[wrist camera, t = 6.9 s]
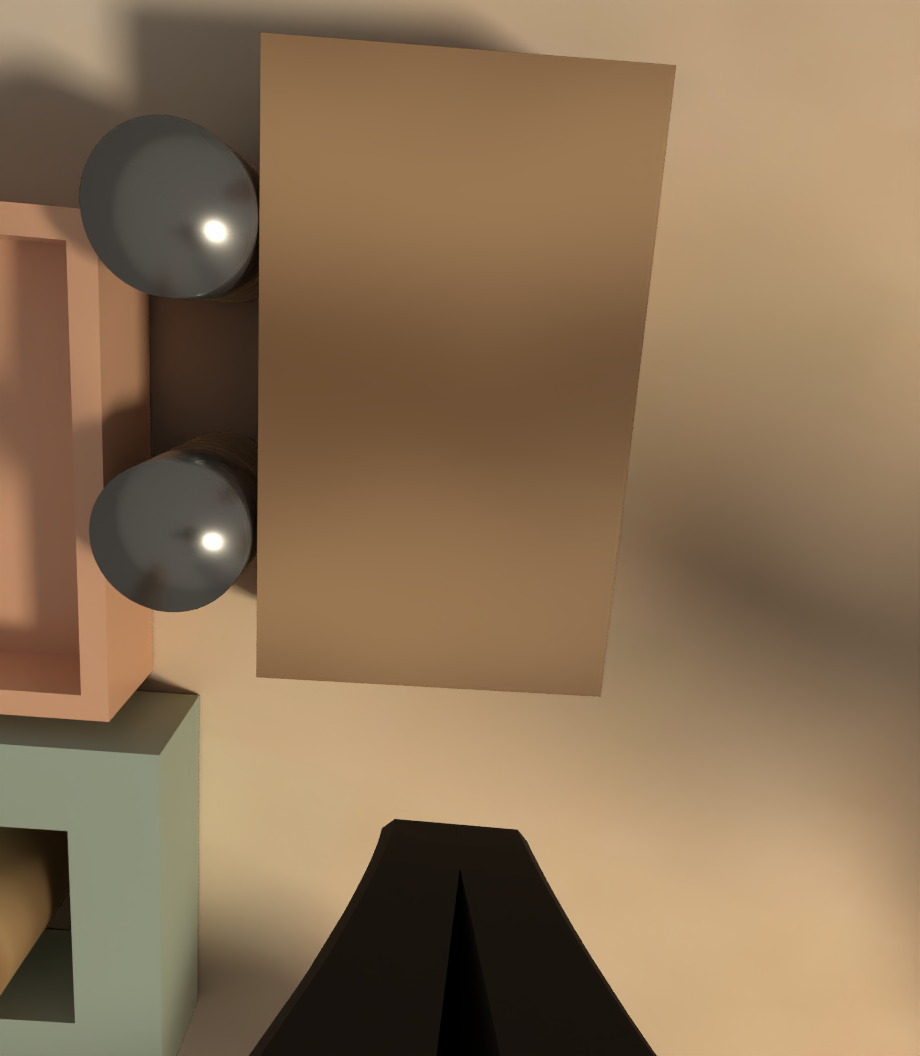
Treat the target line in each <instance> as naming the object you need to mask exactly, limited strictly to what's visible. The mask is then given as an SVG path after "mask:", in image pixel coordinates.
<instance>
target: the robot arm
mask: <svg viewBox="0 0 920 1056" xmlns="http://www.w3.org/2000/svg"><path fill="white" fill-rule="evenodd" d="M249 1056H657V1055H656V1054H655V1053H654V1051H653V1050H652V1048H651V1047H650V1045H649V1044H648V1043H647V1041H646V1040H645V1038H644V1037H643V1035H642V1034H641V1032H640V1031H639V1029H638V1028H637V1026H636V1025H635V1024H634V1022H633V1021H632V1019H631V1018H630V1016H629V1015H628V1013H627V1012H626V1010H625V1009H624V1007H623V1006H622V1004H621V1002H620V1001H619V999H618V998H617V996H616V995H615V993H614V992H613V990H612V988H611V987H610V985H609V984H608V982H607V981H606V979H605V977H604V976H603V974H602V973H601V971H600V970H599V968H598V967H597V965H596V963H595V962H594V960H593V959H592V957H591V956H590V954H589V952H588V951H587V949H586V948H585V946H584V944H583V943H582V941H581V939H580V938H579V936H578V934H577V933H576V931H575V929H574V928H573V926H572V924H571V922H570V921H569V919H568V917H567V915H566V914H565V912H564V910H563V908H562V907H561V905H560V903H559V901H558V900H557V898H556V896H555V894H554V893H553V891H552V889H551V887H550V885H549V883H548V882H547V880H546V878H545V876H544V874H543V872H542V870H541V868H540V867H539V865H538V863H537V861H536V859H535V857H534V855H533V853H532V851H531V849H530V847H529V845H528V843H527V841H526V840H525V838H524V837H523V836H522V835H521V833H520V832H519V831H518V830H514V829H503V828H491V827H480V826H468V825H457V824H445V823H434V822H422V821H411V820H399V819H394V820H393V821H391V822H390V823H389V824H387V825H386V826H385V827H383V828H382V831H381V834H380V838H379V841H378V844H377V846H376V849H375V851H374V854H373V856H372V859H371V861H370V863H369V865H368V867H367V870H366V872H365V874H364V876H363V878H362V880H361V882H360V884H359V885H358V887H357V889H356V891H355V893H354V895H353V897H352V898H351V900H350V902H349V904H348V906H347V908H346V910H345V911H344V913H343V915H342V916H341V918H340V920H339V921H338V923H337V925H336V926H335V928H334V929H333V931H332V933H331V934H330V936H329V938H328V939H327V941H326V943H325V944H324V946H323V948H322V949H321V951H320V952H319V954H318V956H317V957H316V959H315V961H314V962H313V964H312V966H311V967H310V969H309V970H308V972H307V973H306V975H305V976H304V978H303V979H302V981H301V982H300V984H299V986H298V987H297V988H296V990H295V991H294V993H293V994H292V995H291V997H290V998H289V1000H288V1001H287V1003H286V1004H285V1005H284V1007H283V1008H282V1010H281V1011H280V1012H279V1014H278V1015H277V1017H276V1018H275V1020H274V1021H273V1022H272V1024H271V1025H270V1027H269V1028H268V1029H267V1031H266V1032H265V1034H264V1035H263V1037H262V1038H261V1039H260V1041H259V1042H258V1044H257V1045H256V1046H255V1048H254V1049H253V1051H252V1052H251V1054H250V1055H249Z"/></svg>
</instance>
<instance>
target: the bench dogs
mask: <svg viewBox="0 0 920 1056" xmlns="http://www.w3.org/2000/svg"><path fill="white" fill-rule="evenodd" d="M79 203H80V213H81V218H82V223H83V226H84V229H85V232H86V235H87V238H88V240H89V242H90V244H91V246H92V248H93V249H94V251H95V253H96V254H97V256H98V257H99V259H100V260H101V261H102V262H103V263H104V265H105V266H106V267H107V268H108V269H109V270H110V271H111V272H112V273H113V274H114V275H115V276H117V277H118V278H119V279H120V280H122V281H123V282H124V283H126V284H128V285H130V286H131V287H133V288H135V289H137V290H139V291H142V292H144V293H147V294H151V295H154V296H159V297H166V298H179V299H193V300H208V301H222V302H242V301H248V300H252V299H255V298H257V297H259V209H260V170H258V169H257V168H256V167H255V166H253V165H252V164H251V163H249V162H248V161H247V160H245V159H244V158H243V157H242V156H240V155H239V154H238V153H236V152H235V151H234V150H232V149H231V148H230V147H228V146H227V145H226V144H225V143H223V142H222V141H221V140H219V139H218V138H217V137H215V136H214V135H213V134H211V133H210V132H209V131H207V130H205V129H204V128H202V127H201V126H199V125H197V124H195V123H192V122H190V121H188V120H185V119H181V118H178V117H173V116H167V115H150V116H142V117H139V118H135V119H131V120H129V121H127V122H125V123H122V124H121V125H119V126H117V127H116V128H114V129H113V130H111V131H110V132H109V133H108V134H107V135H106V136H104V137H103V138H102V140H101V141H100V142H99V143H98V144H97V145H96V147H95V148H94V150H93V151H92V153H91V155H90V156H89V158H88V161H87V163H86V165H85V168H84V171H83V174H82V178H81V184H80V196H79ZM257 516H258V443H257V442H255V441H253V440H252V439H250V438H247V437H245V436H242V435H239V434H235V433H229V432H214V433H208V434H204V435H201V436H198V437H196V438H194V439H191V440H189V441H187V442H185V443H183V444H181V445H179V446H176V447H174V448H172V449H170V450H168V451H166V452H164V453H162V454H159V455H157V456H155V457H153V458H151V459H149V460H147V461H144V462H142V463H140V464H138V465H136V466H134V467H132V468H129V469H127V470H126V471H124V472H122V473H120V474H119V475H117V476H116V477H115V478H113V479H112V480H111V481H110V482H109V483H108V484H107V485H106V486H105V487H104V488H103V490H102V491H101V493H100V494H99V496H98V497H97V499H96V501H95V503H94V506H93V509H92V512H91V516H90V522H89V539H90V545H91V550H92V553H93V556H94V559H95V561H96V563H97V565H98V567H99V569H100V571H101V572H102V574H103V575H104V577H105V578H106V579H107V581H108V582H109V583H110V584H111V585H112V586H113V587H114V588H115V589H116V590H117V591H118V592H120V593H121V594H122V595H124V596H125V597H126V598H128V599H129V600H131V601H133V602H135V603H137V604H139V605H141V606H144V607H146V608H150V609H153V610H157V611H164V612H183V611H190V610H194V609H198V608H200V607H203V606H205V605H207V604H209V603H211V602H213V601H215V600H216V599H217V598H219V597H220V596H221V595H223V594H224V593H225V592H226V591H227V590H228V589H229V588H230V586H231V585H232V584H233V583H234V581H235V580H236V579H237V578H238V577H239V575H240V574H241V573H242V572H243V571H244V569H245V568H246V567H247V566H248V564H249V563H250V562H251V561H252V560H253V558H254V557H255V556H256V555H257Z"/></svg>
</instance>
